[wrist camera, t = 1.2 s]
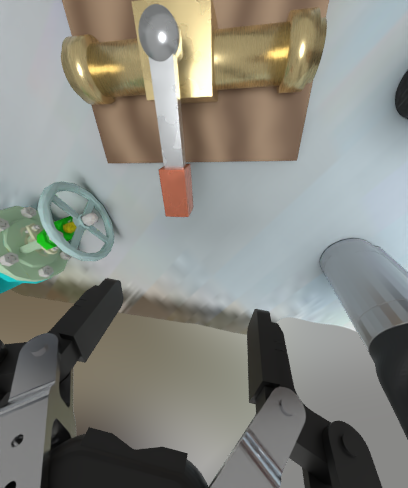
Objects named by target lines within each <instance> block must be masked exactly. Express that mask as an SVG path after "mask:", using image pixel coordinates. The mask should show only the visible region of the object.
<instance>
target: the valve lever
mask: <svg viewBox="0 0 408 488" xmlns="http://www.w3.org/2000/svg"><path fill="white" fill-rule="evenodd" d="M138 31H139V39H140V43H141V46H142V48H143V50H144V51H145V53H146V54H147V55H148V56H149V63H150V70H151V78H152V85H153V92H154V99H155V106H156V113H157V121H158V128H159V135H160V142H161V149H162V156H163V163H164V167H162V168H161V169H159V175H160V182H161V188H162V195H163V201H164V207H165V214H166V216H169V217H189V215H190V213H191V211H192V209H193V196H192V182H191V168H190V164H186V160H185V148H184V136H183V124H182V112H181V100H180V88H179V76H178V64H177V58H178V56H179V54H180V51H181V47H182V36H181V31H180V28H179V26H178V24H177V22H176V20H175V19H174V17H173V16H172V14H171V13H170V11H169V10H168V9H167V8H166V7H164V6H163V5H160V4H152V5H150V6H148V7H147V8H146V9H145V10H144V11H143V13H142V15H141V18H140V21H139V28H138Z"/></svg>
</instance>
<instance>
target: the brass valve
mask: <svg viewBox="0 0 408 488" xmlns="http://www.w3.org/2000/svg"><path fill="white" fill-rule="evenodd" d="M131 2H132V8H133V15H134V21H135V27H136V34H137V38H134V39H125V40H116V41H107V42H99V41H98V40H97V39H96V38H95V37H94V36H92V35H89V34H87V35H78V36H70V37H66V38H65V39H64V41H63V44H62V52H61V62H62V67H63V70H64V73H65V76H66V78H67V80H68V82H69V84H70V85H71V87H72V88H73V90H74V91H75V92H76V93H77V94H78V95H79V96H80V97H81V98H82V99H83V100H84V101H86V102H87V103H89V104H91V105H99V104H111V103H113V102H114V101H115V98H116V97H120V96H135V95H146V97H147V100H148V101H153V102H155V99H154V92H153V85H152V78H151V70H150V63H149V56H148V55H147V54H146V53H145V51H144V50H143V48H142V46H141V43H140V39H139V31H138V28H139V21H140V18H141V15H142V13H143V11H144V10H145V9H146V8H147V7H148V6H150V5H152V4H160V5H163V6H164V7H166V8H167V9H168V10H169V11H170V13H171V14H172V16H173V17H174V19H175V20H176V22H177V24H178V26H179V28H180V31H181V36H182V47H181V51H180V54H179V56H178V58H177V64H178V76H179V88H180V100H181V104H183V103H200V102H216V101H218V90H224V89H239V88H254V87H269V86H277V92H278V93H292V92H301V91H302V90H303V88H304V87H305V85H306V84H310V83H311V82H312V80H313V78H314V76H315V74H316V72H317V69H318V66H319V63H320V60H321V56H322V52H323V48H324V43H325V37H326V29H327V22H326V18H325V17H322V18H321V11H320V8H319V7H314V8H305V9H297V10H291V11H290V12H289V15H288V17H287V21H286V22H277V23H269V24H260V25H251V26H242V27H233V28H224V29H218V23H217V18H216V13H215V8H214V4H213V0H138V1H131Z"/></svg>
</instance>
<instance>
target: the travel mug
mask: <svg viewBox="0 0 408 488" xmlns="http://www.w3.org/2000/svg"><path fill="white" fill-rule="evenodd" d="M395 103H396V108H397V110H398V112H399V113H400V114H401V115H402V116H403V117H405V118H407V119H408V71H407V72H406V74H405V75H404V77H403V78H402V80H401V82H400V84H399V86H398V89H397V93H396V99H395Z"/></svg>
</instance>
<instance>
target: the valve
mask: <svg viewBox="0 0 408 488" xmlns="http://www.w3.org/2000/svg"><path fill="white" fill-rule="evenodd" d="M66 190H67V191H71V192H75V193H77V194H79V195H81V196H83V197H85V198H86V199H87V200H88V203H87V205H86V208H85V210H84V212H83V214H80V215H79V214H78V213H76V212H75V211H74V210H73V209H72V208H70V207H69V206H68V205H67V204H66V203H64V202H63V201H62V200H61V199H60V198H58V197H57V196H56V195H55V194H56V193H57V192H59V191H66ZM51 202H53V203H54V204H56V205H57V206H58V207H60V208H61V209H62V210H64V211H65V212H66V213H67V214H69V215H70V216H69V217H66V218H63V219H61V220H58V221H54V220H53V218H52V214H51V209H50V205H51ZM93 207H95V209H96V210H97V211H98V212H99V213H100V215H101V217H102V219H103V221H104V225H105V229H106V236H105V235H104V234H102V233H101V232H100V231H99V230H97V229H96V228H95V227H94V226H92V225H93V224H94V223H95V222H97V221H98V216H97V215H96V214H95V213H91V212H92V209H93ZM85 229H87V230H89V231H90V232H91V233H93V234H94V235H95V236H97V237H98V238H99V239H101V240H102V241H103V242H105V245H104V246H103V247H102V249H101V250H100V251H99V252H97V253H85V252H82V251H80V250H78V249H77V248H78V246H79V243H80V240H81V237H82V235H83V232H84V230H85ZM71 239H72V240H71ZM69 240H71V242H70V244H69V243H68V241H69ZM113 243H114V232H113V227H112V222H111V220H110V218H109V216H108V214H107V212H106V210H105V208H104V206H103V205H102V204H101V203H100V202H99V201H98V200H97V199H96V198H95V197H94V196H93V195H92V194H91V193H90V192H88V191H86V190H85V189H83V188H81V187H79V186H77V185H76V184H73V183H67V182H56V183H53V184H51V185H49V186H48V187H46V188H44V190H43V192H42V194H41V196H40V199H39V203H38V208H37V210H35V209H34V208H32V207H31V206H30V207H26V208H25V207H19V206H14V207H10V208H7V209H3V210H0V293H3V292H5V291H7V290H9V289H11V288H13V287H16V286H18V285H20V284H22V283H35V284H37V283H39V282H42V281H45V280H47V279H50V278H51V277H53V276H55V275H57V274H59V273H60V272H62V271H64V269H65V266H66V264H67V261H68V259H70V258H71V257H75V258H77V259H79V260H81V261H98V260H100V259H102V258H104V257H106V256H107V255H108V254H109V252H110V251H111V248H112V246H113Z"/></svg>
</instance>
